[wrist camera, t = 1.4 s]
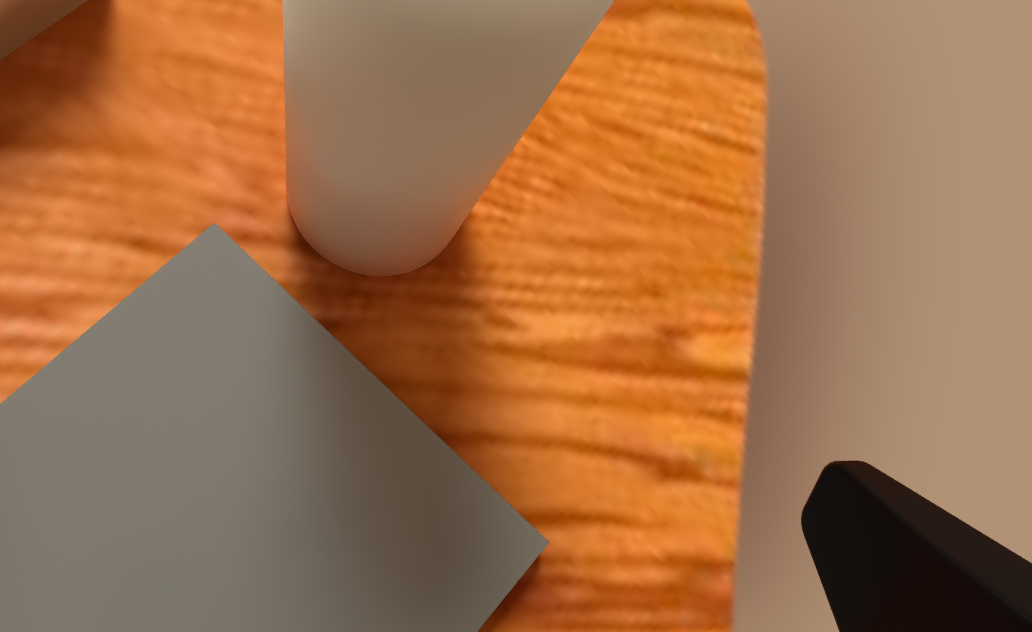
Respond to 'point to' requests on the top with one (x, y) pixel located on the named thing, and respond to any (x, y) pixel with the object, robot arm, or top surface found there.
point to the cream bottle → (411, 114)
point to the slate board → (237, 477)
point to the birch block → (29, 20)
